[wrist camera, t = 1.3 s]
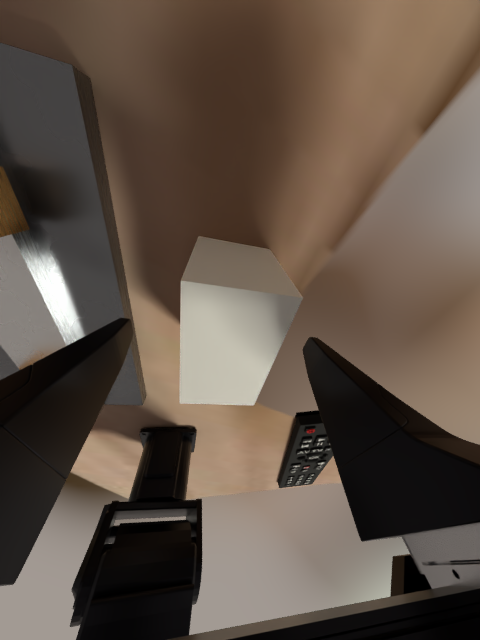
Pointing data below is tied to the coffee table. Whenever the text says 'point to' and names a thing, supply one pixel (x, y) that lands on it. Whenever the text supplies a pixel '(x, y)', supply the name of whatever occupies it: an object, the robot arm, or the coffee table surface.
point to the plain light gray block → (231, 321)
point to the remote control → (305, 451)
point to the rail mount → (56, 220)
